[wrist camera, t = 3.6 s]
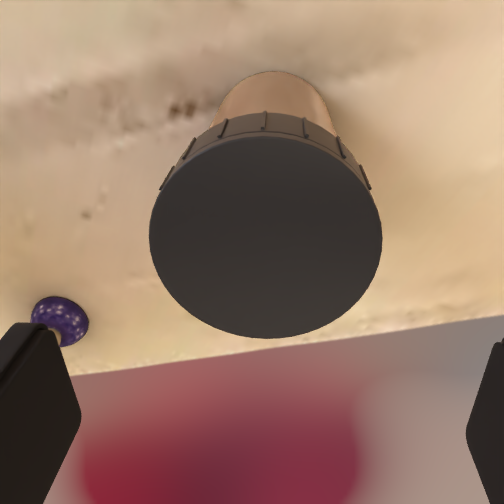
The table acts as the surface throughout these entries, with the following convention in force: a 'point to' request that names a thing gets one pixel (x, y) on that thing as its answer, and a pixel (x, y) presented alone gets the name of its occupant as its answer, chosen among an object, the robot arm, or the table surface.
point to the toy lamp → (61, 319)
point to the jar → (275, 99)
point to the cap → (266, 227)
